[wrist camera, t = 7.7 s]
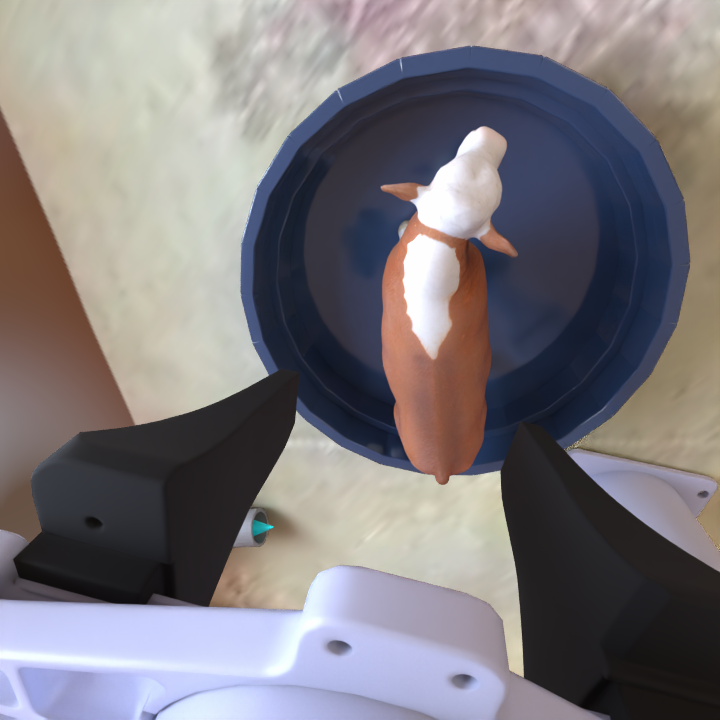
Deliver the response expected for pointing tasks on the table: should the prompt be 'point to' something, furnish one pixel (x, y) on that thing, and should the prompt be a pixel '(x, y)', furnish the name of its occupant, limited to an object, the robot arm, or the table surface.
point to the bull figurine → (443, 308)
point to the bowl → (503, 273)
